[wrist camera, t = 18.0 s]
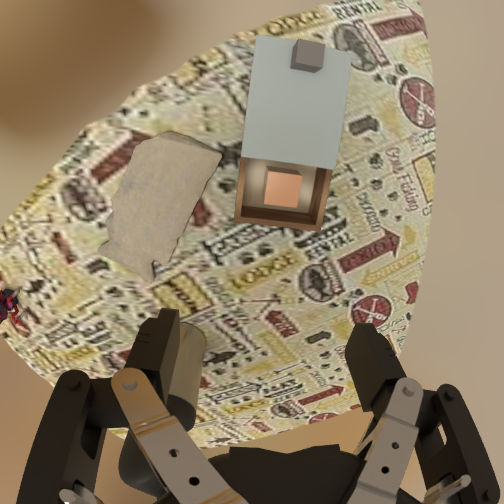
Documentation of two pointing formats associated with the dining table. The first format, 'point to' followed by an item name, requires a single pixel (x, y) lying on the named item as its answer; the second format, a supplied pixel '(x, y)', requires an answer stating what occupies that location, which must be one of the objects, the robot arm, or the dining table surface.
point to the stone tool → (157, 200)
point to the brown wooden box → (257, 212)
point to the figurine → (9, 305)
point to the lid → (296, 102)
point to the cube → (281, 186)
